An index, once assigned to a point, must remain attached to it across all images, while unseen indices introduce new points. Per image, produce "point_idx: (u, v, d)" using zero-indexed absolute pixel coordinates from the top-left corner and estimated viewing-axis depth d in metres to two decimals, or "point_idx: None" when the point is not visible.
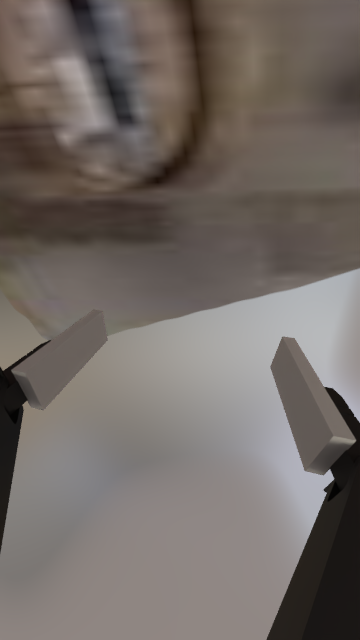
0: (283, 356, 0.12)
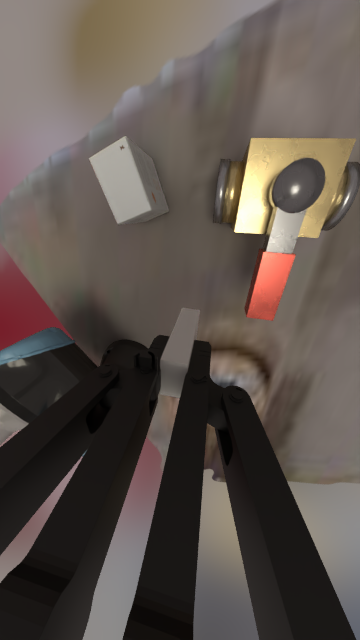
0: None
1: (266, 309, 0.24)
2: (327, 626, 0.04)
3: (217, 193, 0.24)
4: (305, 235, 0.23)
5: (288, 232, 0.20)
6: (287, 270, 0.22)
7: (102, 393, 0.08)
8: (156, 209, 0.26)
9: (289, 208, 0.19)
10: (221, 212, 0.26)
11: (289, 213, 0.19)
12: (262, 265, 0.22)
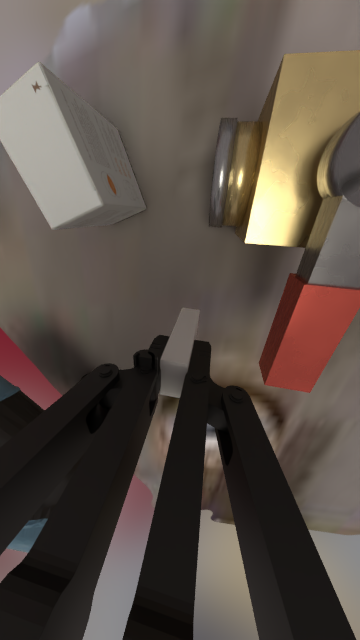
0: None
1: (300, 376, 0.14)
2: (327, 626, 0.04)
3: (215, 176, 0.14)
4: None
5: (358, 248, 0.10)
6: (347, 318, 0.11)
7: (102, 393, 0.08)
8: (116, 204, 0.16)
9: None
10: (222, 209, 0.15)
11: None
12: (299, 307, 0.12)
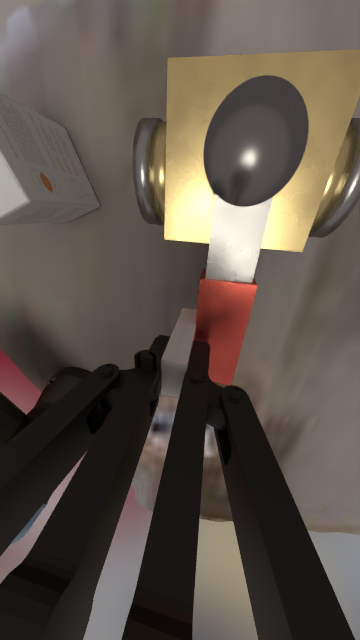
0: None
1: (218, 369, 0.15)
2: (325, 625, 0.04)
3: (135, 174, 0.14)
4: (281, 247, 0.13)
5: (241, 244, 0.10)
6: (245, 311, 0.12)
7: (103, 393, 0.08)
8: (51, 201, 0.17)
9: (238, 196, 0.09)
10: (150, 207, 0.16)
11: (239, 207, 0.10)
12: (201, 301, 0.12)
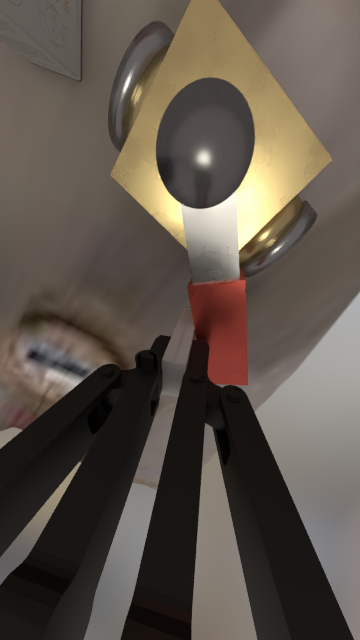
0: None
1: (230, 370, 0.14)
2: (324, 624, 0.04)
3: (118, 78, 0.12)
4: None
5: (218, 243, 0.10)
6: (241, 308, 0.11)
7: (104, 393, 0.08)
8: None
9: (201, 199, 0.09)
10: (119, 130, 0.14)
11: (205, 209, 0.09)
12: (195, 307, 0.12)
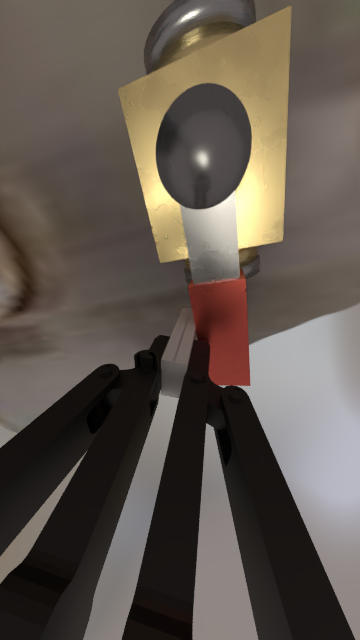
0: None
1: (232, 371, 0.14)
2: (325, 625, 0.04)
3: (183, 0, 0.10)
4: (157, 244, 0.15)
5: (218, 243, 0.10)
6: (242, 307, 0.12)
7: (103, 393, 0.08)
8: None
9: (200, 200, 0.09)
10: (156, 54, 0.12)
11: (205, 209, 0.10)
12: (195, 307, 0.12)
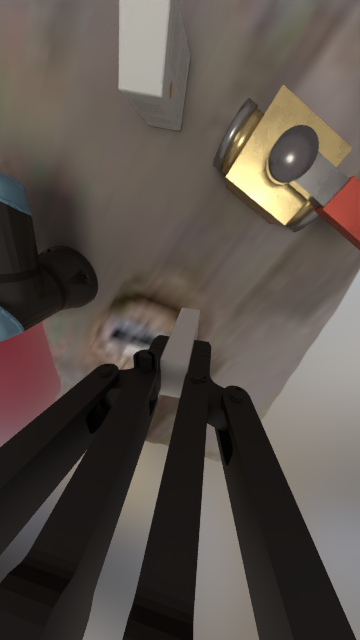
0: None
1: None
2: (327, 626, 0.04)
3: (230, 128, 0.23)
4: (277, 217, 0.25)
5: (324, 176, 0.19)
6: None
7: (102, 393, 0.08)
8: (167, 105, 0.23)
9: (304, 169, 0.19)
10: (224, 153, 0.25)
11: (308, 170, 0.19)
12: (334, 215, 0.20)
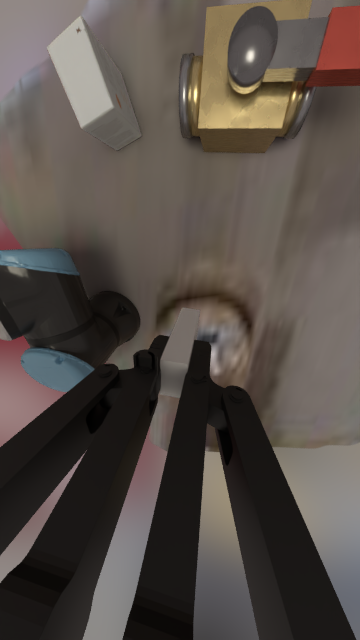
0: None
1: None
2: (327, 626, 0.04)
3: (180, 88, 0.23)
4: (269, 126, 0.22)
5: (298, 38, 0.17)
6: (354, 11, 0.15)
7: (102, 393, 0.08)
8: (121, 114, 0.26)
9: (271, 49, 0.17)
10: (186, 114, 0.25)
11: (276, 47, 0.17)
12: (334, 65, 0.17)
